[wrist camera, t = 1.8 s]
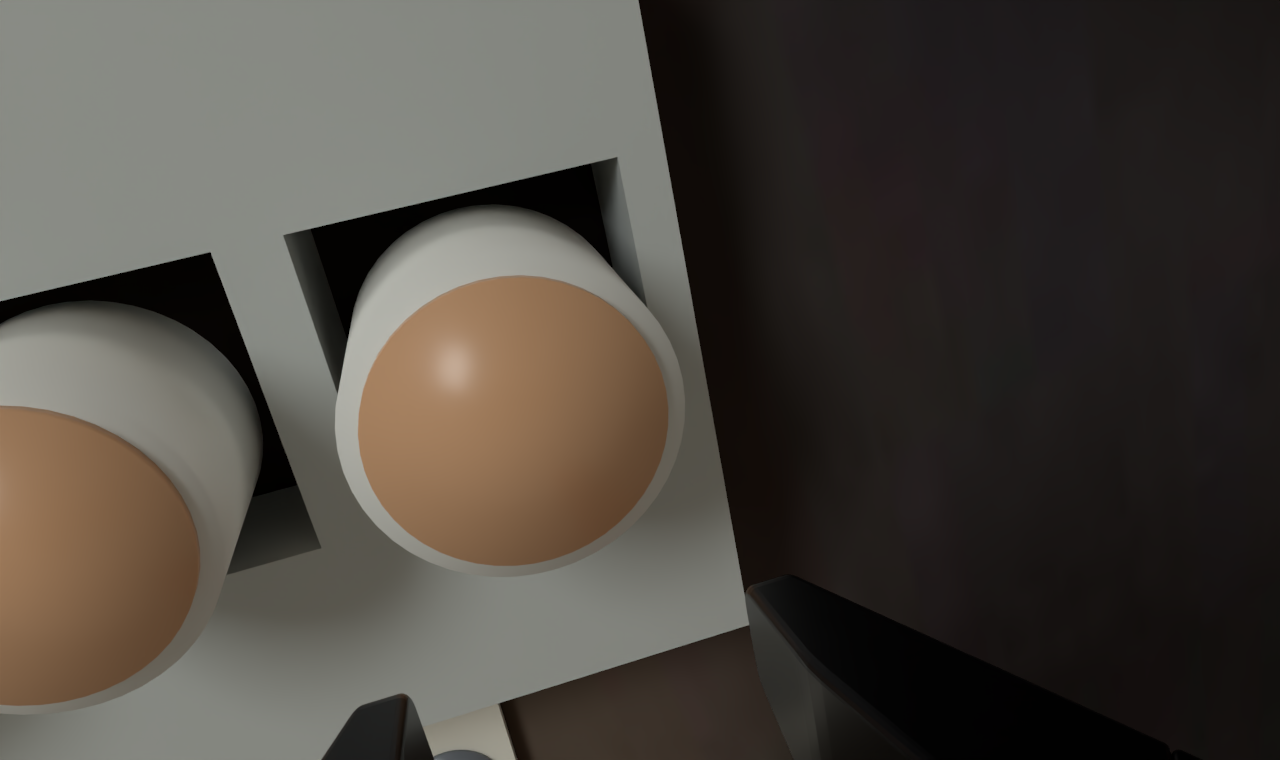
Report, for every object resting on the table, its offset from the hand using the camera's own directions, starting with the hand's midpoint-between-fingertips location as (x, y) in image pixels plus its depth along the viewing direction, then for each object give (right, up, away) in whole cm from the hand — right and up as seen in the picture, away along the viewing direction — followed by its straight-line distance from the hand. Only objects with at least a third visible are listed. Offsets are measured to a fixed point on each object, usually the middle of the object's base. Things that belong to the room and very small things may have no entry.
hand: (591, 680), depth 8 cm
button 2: (-2, +3, +9) cm, 9 cm away
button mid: (-8, +1, +8) cm, 11 cm away
